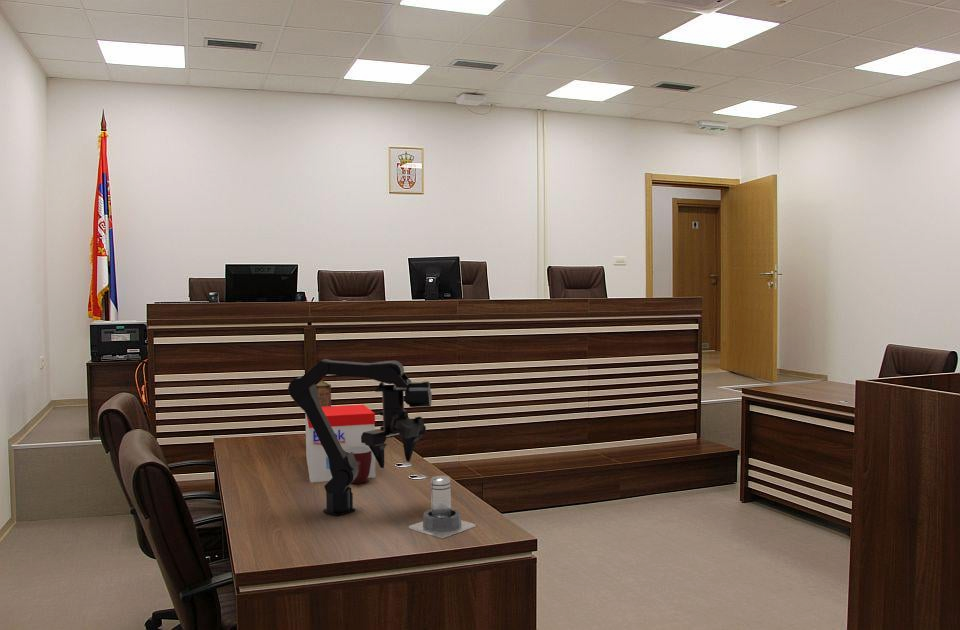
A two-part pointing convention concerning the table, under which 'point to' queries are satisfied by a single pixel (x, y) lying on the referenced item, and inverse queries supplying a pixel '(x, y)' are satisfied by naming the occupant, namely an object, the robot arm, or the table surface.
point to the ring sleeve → (442, 524)
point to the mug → (362, 463)
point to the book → (324, 393)
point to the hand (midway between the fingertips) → (395, 464)
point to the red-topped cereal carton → (338, 437)
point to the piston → (440, 497)
